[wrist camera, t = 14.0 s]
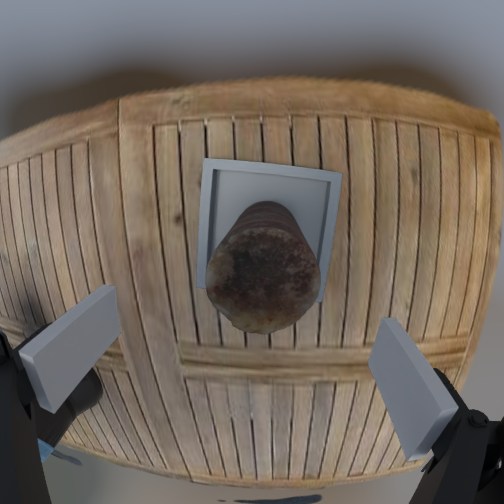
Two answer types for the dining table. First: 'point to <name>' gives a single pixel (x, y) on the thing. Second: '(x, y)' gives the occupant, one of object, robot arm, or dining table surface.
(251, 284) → the brown rough cylinder
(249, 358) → the dining table surface
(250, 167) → the tray
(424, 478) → the robot arm
